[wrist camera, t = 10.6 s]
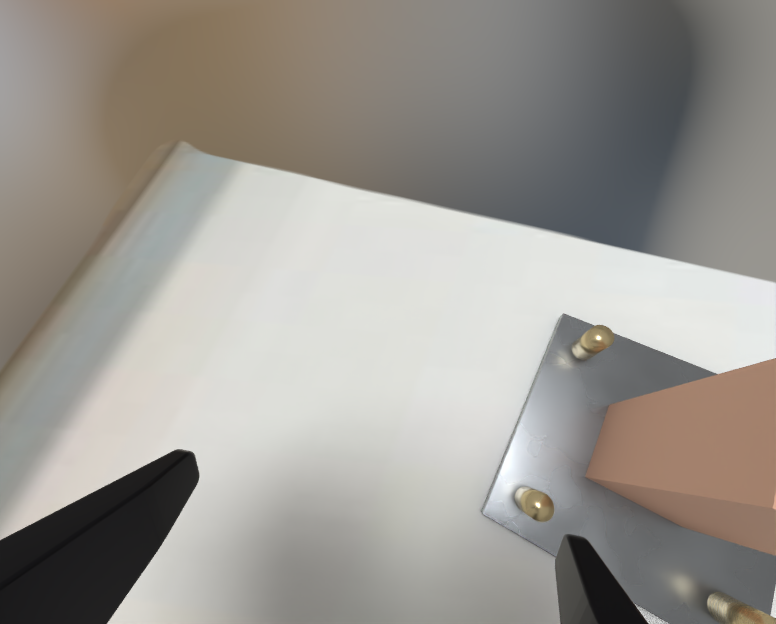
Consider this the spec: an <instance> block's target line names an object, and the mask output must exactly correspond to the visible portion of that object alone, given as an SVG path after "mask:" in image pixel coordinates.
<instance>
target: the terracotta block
mask: <svg viewBox="0 0 776 624" xmlns="http://www.w3.org/2000/svg"><path fill="white" fill-rule="evenodd" d="M585 477H586V478H588V479H590V480H592V481H594V482H596V483H598V484H600V485H602V486H604V487H606V488H608V489H609V490H611V491H613V492H615V493H617V494H619V495H621V496H623V497H625V498H627V499H629V500H631V501H633V502H635V503H637V504H639V505H641V506H643V507H644V508H646V509H648V510H650V511H652V512H654V513H656V514H658V515H660V516H662V517H664V518H666V519H668V520H670V521H672V522H674V523H676V524H678V525H679V526H681V527H683V528H687V529H690V530H693V531H696V532H700V533H703V534H706V535H709V536H713V537H716V538H719V539H723V540H726V541H729V542H732V543H736V544H739V545H742V546H745V547H749V548H752V549H755V550H758V551H762V552H765V553H768V554H771V555H775V556H776V358H775V359H771V360H767V361H764V362H760V363H757V364H753V365H750V366H746V367H742V368H739V369H735V370H732V371H728V372H725V373H721V374H717V375H714V376H710V377H707V378H703V379H700V380H696V381H692V382H689V383H685V384H682V385H678V386H675V387H671V388H667V389H664V390H660V391H657V392H653V393H650V394H646V395H642V396H639V397H635V398H632V399H628V400H625V401H621V402H617V403H614V404H610V405H609V407H608V410H607V413H606V416H605V419H604V422H603V425H602V428H601V431H600V434H599V437H598V440H597V443H596V446H595V449H594V452H593V455H592V458H591V461H590V464H589V467H588V470H587V472H586V475H585Z"/></svg>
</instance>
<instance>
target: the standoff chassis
mask: <svg viewBox="0 0 776 624" xmlns="http://www.w3.org/2000/svg"><path fill="white" fill-rule="evenodd" d="M714 375H717V374H716V373H713V372H711V371H708V370H706V369H703V368H701V367H698V366H695V365H693V364H690V363H688V362H685V361H683V360H680V359H678V358H675V357H673V356H670V355H668V354H665V353H663V352H660V351H657V350H655V349H652V348H650V347H647V346H645V345H642V344H640V343H637V342H635V341H632V340H630V339H627V338H625V337H622V336H620V335H617V334H614V333H613V332H612V331H611V330H610V329H609V328H608V327H606V326H603V325H596V326H594V325H592V324H589V323H587V322H584V321H582V320H579V319H576V318H574V317H571V316H569V315H566V314H564V313H563V314H562V316H561V317H560V318H559V320H558V322H557V325H556V327H555V330H554V332H553V335H552V337H551V340H550V342H549V345H548V347H547V350H546V352H545V355H544V357H543V360H542V362H541V365H540V367H539V369H538V372H537V374H536V377H535V379H534V382H533V384H532V387H531V389H530V392H529V394H528V397H527V399H526V402H525V404H524V407H523V409H522V412H521V414H520V417H519V419H518V421H517V424H516V426H515V429H514V431H513V434H512V436H511V439H510V441H509V444H508V446H507V449H506V451H505V454H504V456H503V459H502V461H501V464H500V466H499V468H498V471H497V473H496V476H495V478H494V481H493V483H492V486H491V488H490V491H489V493H488V496H487V498H486V501H485V503H484V506H483V508H482V511H481V512H482V513H483V514H484V515H486V516H487V517H489V518H491V519H492V520H494V521H496V522H497V523H499V524H501V525H503V526H504V527H506V528H508V529H509V530H511V531H513V532H514V533H516V534H518V535H520V536H521V537H523V538H525V539H526V540H528V541H530V542H532V543H533V544H535V545H537V546H538V547H540V548H542V549H543V550H545V551H547V552H549V553H550V554H552V555H554V556H555V557H556V555H557V553H558V550H559V547H560V544H561V541H562V538H563V536H564V535H565V534H572V535H577V536H582V537H584V538H586V539H587V540H588V541H589V542H590V543H591V545H592V546H593V548H594V549H595V550H596V552H597V553H598V554H599V556H600V557H601V559H602V560H603V561H604V563H605V564H606V566H607V567H608V568H609V570H610V571H611V573H612V574H613V575H614V577H615V578H616V580H617V581H618V582H619V584H620V585H621V586H622V588H623V589H624V591H625V592H626V593H627V595H628V596H629V598H630V599H631V600H632V602H634V603H635V604H637V605H639V606H641V607H642V608H644V609H646V610H647V611H649V612H651V613H653V614H654V615H656V616H658V617H659V618H661V619H663V620H664V621H666V622H668V623H670V624H776V618H774V617H772V616H770V614H771V608H772V602H773V597H774V591H775V585H776V556H775V555H771V554H768V553H765V552H762V551H758V550H755V549H752V548H749V547H745V546H742V545H739V544H736V543H732V542H729V541H726V540H723V539H719V538H716V537H713V536H709V535H706V534H703V533H700V532H696V531H693V530H690V529H687V528H683V527H681V526H679V525H678V524H676V523H674V522H672V521H670V520H668V519H666V518H664V517H662V516H660V515H658V514H656V513H654V512H652V511H650V510H648V509H646V508H644V507H643V506H641V505H639V504H637V503H635V502H633V501H631V500H629V499H627V498H625V497H623V496H621V495H619V494H617V493H615V492H613V491H611V490H609V489H608V488H606V487H604V486H602V485H600V484H598V483H596V482H594V481H592V480H590V479H588V478H586V477H585V475H586V472H587V470H588V467H589V464H590V461H591V458H592V455H593V452H594V449H595V446H596V443H597V440H598V437H599V434H600V431H601V428H602V425H603V422H604V419H605V416H606V413H607V410H608V407H609V405H610V404H614V403H617V402H621V401H625V400H628V399H632V398H635V397H639V396H642V395H646V394H650V393H653V392H657V391H660V390H664V389H667V388H671V387H675V386H678V385H682V384H685V383H689V382H692V381H696V380H700V379H703V378H707V377H710V376H714Z"/></svg>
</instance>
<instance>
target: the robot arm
mask: <svg viewBox="0 0 776 624" xmlns="http://www.w3.org/2000/svg"><path fill="white" fill-rule="evenodd" d="M198 480H199V470H198V466H197V462H196V458H195V455H194V453H193V452H191V451H187V450H182V449H177V450H175V451H172V452H170V453H168V454H167V455H165V456H163V457H161V458H159V459H157V460H155V461H153V462H151V463H149V464H147V465H145V466H143V467H141V468H139V469H137V470H136V471H134V472H132V473H130V474H128V475H126V476H124V477H122V478H120V479H118V480H116V481H114V482H112V483H110V484H108V485H106V486H104V487H103V488H101V489H99V490H97V491H95V492H93V493H91V494H89V495H87V496H85V497H83V498H81V499H79V500H77V501H75V502H73V503H72V504H70V505H68V506H66V507H64V508H62V509H60V510H58V511H56V512H54V513H52V514H50V515H48V516H46V517H44V518H42V519H41V520H39V521H37V522H35V523H33V524H31V525H29V526H27V527H25V528H23V529H21V530H19V531H17V532H15V533H13V534H11V535H9V536H8V537H6V538H4V539H2V540H0V624H107V623H108V621H109V620H110V618H111V617H112V616H113V614H114V613H115V611H116V610H117V608H118V607H119V606H120V604H121V603H122V601H123V600H124V598H125V597H126V595H127V594H128V593H129V591H130V590H131V588H132V587H133V585H134V584H135V583H136V581H137V580H138V578H139V577H140V575H141V574H142V573H143V571H144V570H145V568H146V567H147V565H148V564H149V562H150V561H151V560H152V558H153V557H154V555H155V554H156V552H157V551H158V549H159V548H160V546H161V545H162V543H163V542H164V540H165V538H166V537H167V535H168V533H169V532H170V530H171V528H172V527H173V525H174V523H175V521H176V520H177V518H178V516H179V515H180V513H181V511H182V509H183V508H184V506H185V504H186V502H187V501H188V499H189V497H190V496H191V494H192V492H193V490H194V489H195V487H196V485H197V483H198ZM555 571H556V581H557V592H558V602H559V612H560V622H561V624H648V623H647V621H646V620H645V619H644V617H643V616H642V614H641V613H640V612H639V610H638V609H637V607H636V606H635V605H634V603H633V602H632V600H631V599H630V598H629V596H628V595H627V593H626V592H625V591H624V589H623V588H622V586H621V585H620V584H619V582H618V581H617V580H616V578H615V577H614V575H613V574H612V573H611V571H610V570H609V568H608V567H607V566H606V564H605V563H604V561H603V560H602V559H601V557H600V556H599V554H598V553H597V552H596V550H595V549H594V548H593V546H592V545H591V543H590V542H589V541H588V540H587V539H586V538H584V537H582V536H577V535H572V534H565V535H564V536H563V538H562V541H561V544H560V547H559V550H558V553H557V555H556V560H555Z"/></svg>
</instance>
